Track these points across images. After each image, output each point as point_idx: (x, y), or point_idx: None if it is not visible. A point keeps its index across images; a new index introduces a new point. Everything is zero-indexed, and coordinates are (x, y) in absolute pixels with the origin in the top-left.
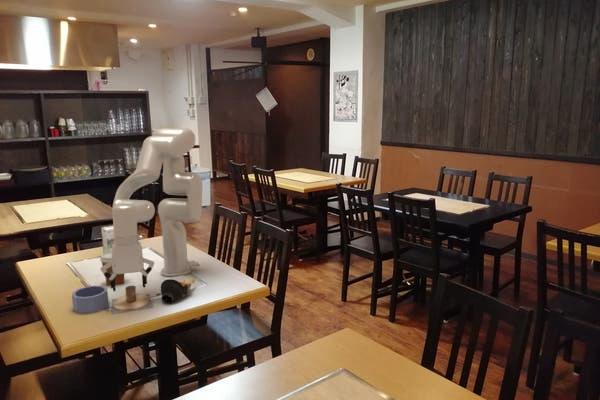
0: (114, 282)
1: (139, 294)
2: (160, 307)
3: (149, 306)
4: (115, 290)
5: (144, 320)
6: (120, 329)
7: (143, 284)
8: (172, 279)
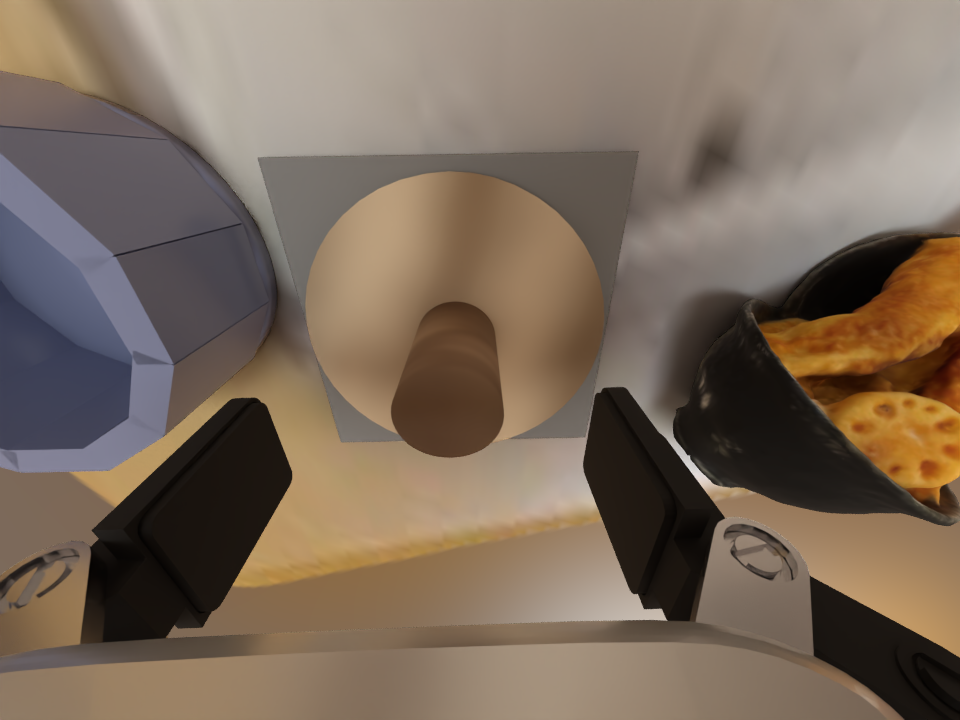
0: (227, 582)
1: (534, 211)
2: None
3: (570, 416)
4: (291, 479)
5: (516, 518)
6: (411, 552)
7: (598, 496)
8: (947, 521)
